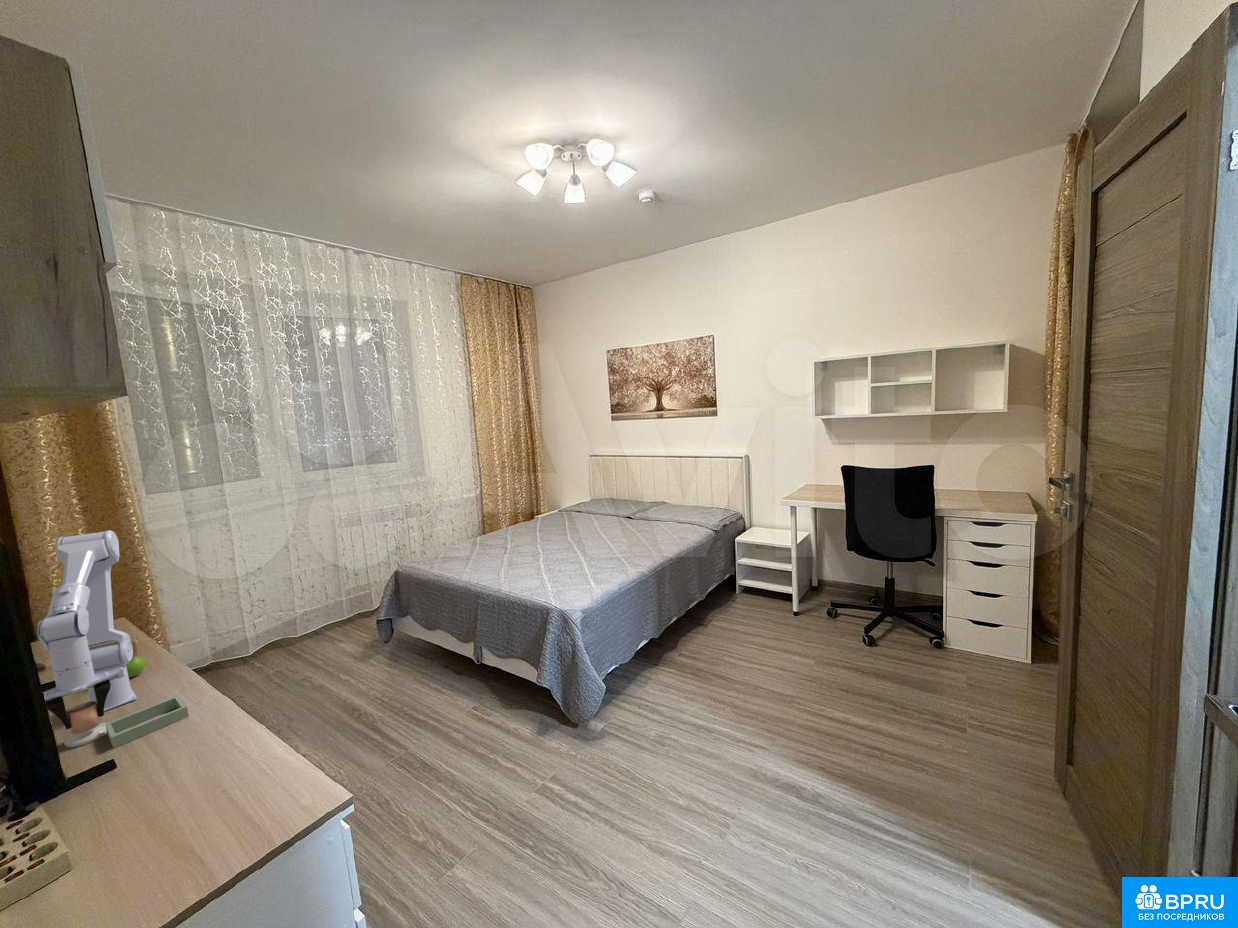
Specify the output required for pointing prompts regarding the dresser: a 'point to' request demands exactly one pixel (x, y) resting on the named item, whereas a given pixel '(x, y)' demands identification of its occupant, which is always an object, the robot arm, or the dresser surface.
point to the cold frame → (149, 725)
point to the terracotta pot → (83, 717)
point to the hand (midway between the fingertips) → (84, 720)
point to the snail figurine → (135, 661)
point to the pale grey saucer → (86, 736)
